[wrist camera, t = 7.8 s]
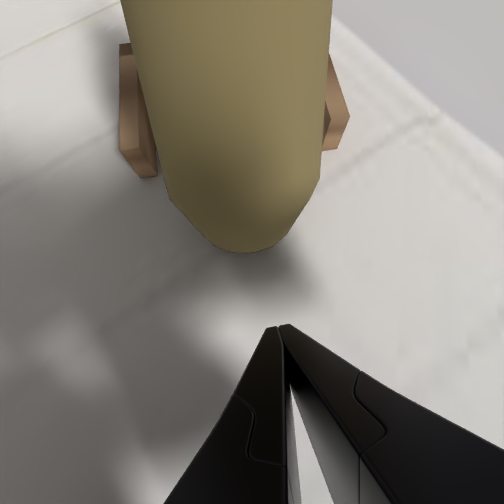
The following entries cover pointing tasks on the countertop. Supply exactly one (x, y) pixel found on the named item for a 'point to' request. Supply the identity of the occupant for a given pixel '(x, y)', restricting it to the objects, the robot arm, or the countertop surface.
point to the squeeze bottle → (235, 109)
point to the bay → (140, 131)
